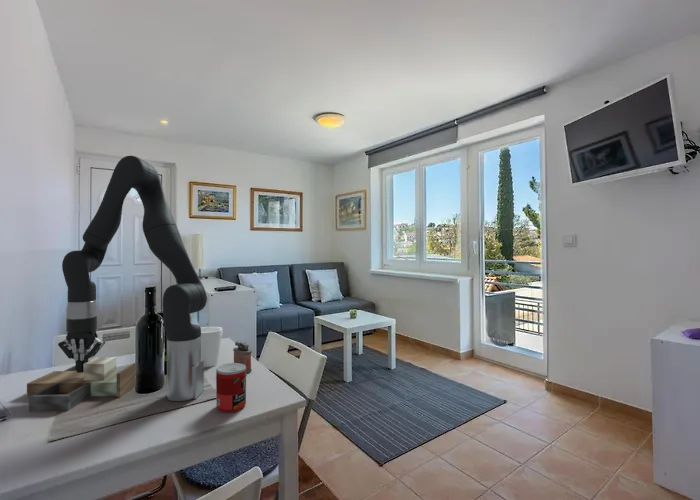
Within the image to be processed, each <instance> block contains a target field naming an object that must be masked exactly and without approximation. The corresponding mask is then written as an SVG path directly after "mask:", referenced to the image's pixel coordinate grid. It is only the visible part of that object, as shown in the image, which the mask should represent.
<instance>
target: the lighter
mask: <svg viewBox="0 0 700 500" xmlns="http://www.w3.org/2000/svg"><path fill="white" fill-rule="evenodd" d="M234 345H235V346H236V347H233V349H232V350H233V363H241V364H244V365H245V366H246V374H250V373H249V372H251V371H253V369H252V353H253V352H252V350H251V349H250V348H249V344H248V343H247V342H246V341H243V342H241V341H236V342H235V343H234ZM251 373H252V372H251Z"/></svg>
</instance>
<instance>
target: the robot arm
mask: <svg viewBox="0 0 700 500" xmlns="http://www.w3.org/2000/svg"><path fill="white" fill-rule="evenodd" d="M162 185H163V184H162V182H161V177H160V175H159V172H158V169H156V168H155V166H153V165H152V164H151V163H149V162H147V161H145V160H143V159H142V158H139V157H138V156H135V155H126V156H123V157H121V159H120V160H119V161H118V162H117V163H116V166H115V168H114V169H113V172H112V174H111V177H110V179H109V182H108V185H107V187H106V190H105V193H104V195H103V198H102V200H101V203H100V205H99V207H98V209H97V211H96V213H95V214H94V217H93V218H92V219H91V222H89V225H88V226H87V228H86V229H85V231H84V233H83V234H82V241H83V242H84V244H83V247H82V248H81V249H80V250H71V251H69V252H68V253H66V254H65V256H63V260H62V265H61V268H62V269H61V270H62V273H63V278H64V280H65V283H66V284H65V285H66V286H67V302H66V303H67V304H66V315H65V316H66V319H65V321H66V325H65V326H66V328H65V331H66V333H67V334H66V337H65V339H63V340H62V341H61V342H58V343H57V346H58V347H59V348H60V349H61V351H62V352H63V353H64V354H65V355H66V357H67V358H68V359H69V360H70V359H73V360H74V363H75V365H74V366H75V369H76V371H77V373H83V372H84V367H83V364H84V363H86V362H88V361H89V359H91V358H93V357H95V356H96V355H97V354H98V352H99V351H100V350H101V348H103V346H104V345H105V344H106V341H105V340H104V339H103V340H101V339H100V338H98V337H99V336H98V334H97V329H98V305H97V304H98V303H97V285H96V283H95V282H94V281H91V277H90V273H93V272H95V271H96V270H97V269H99V267H100V266H101V265H102V263H103V261H104V259H105V256H106V254H107V249H108V247H109V245H110V243H111V241H112V239H113V238H114V237H115V235H116V233H117V232H118V229H119V228H120V225H121V221H122V215H123V214H122V211H123V205H124V202H125V199H126V197H127V195H128V194H129V193H130V191H131V190H132V189H134V190H135V191H136V192H137V194H138V196H139V198H140V201H141V203H142V206H143V216H142V217H143V218H142V231H143V234H144V238H145V240H146V242H147V246H148V248H149V249H150V251H151V252H152V254H153V255H154V256H155V257H156V258H157V259H158V260H159V261H160V262H161V263H162V264H164V266H166V268H168V269H169V271H170V272H171V273H172V275H173V276H174V279H175V281H176V283H177V284H171V285H169V286H168V287H167V288H166V289H165V290H164V292H163V296H162V316H163V318H162V319H163V328H164V331H165V333H166V399H167V400H169V401H172V402H183V401H189V400H194V399H197V398H199V396H200V395H201V394H202V393H203V392H204V390H205V389H204V388H205V387H204V384H205V382H204V381H205V379H204V378H205V377H204V374H205V373H204V371H205V369H204V368H205V367H204V360H201V328H202V327H201V326H200V325H197V324H193V323H192V322H191V317H190V316H191V315H190V314H195V313H197V312H201V311H202V310H203V309H204V308H205V307H206V305H207V301H208V299H207V298H208V297H207V293H206V289H205V287H204V284H203V282H202V280H201V279H200V277H199V275H198V274H197V273H198V272H197V271H196V270H195V267H194V266H193V263H192V262H191V259H190V256H189V254H188V252H187V249H186V247H185V245H184V243H183V240H182V235H181V234H180V231H179V229H178V226H177V224H176V222H175V219H174V216H173V214H172V212H171V208H170V206H169V205H168V201H167V199H166V195H165V193H164V190H163V189H164V188H163V186H162ZM92 346H93V347H92Z"/></svg>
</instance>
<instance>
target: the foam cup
mask: <svg viewBox="0 0 700 500" xmlns="http://www.w3.org/2000/svg"><path fill="white" fill-rule="evenodd" d="M200 328H201V360H204V368H210V367H215V366H217V365H218V364H219V362H220V361H219V359H220V353H221V345H222V336H223V327H221V326H205V327H200Z"/></svg>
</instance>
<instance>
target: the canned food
mask: <svg viewBox="0 0 700 500" xmlns="http://www.w3.org/2000/svg"><path fill="white" fill-rule="evenodd" d="M215 373H216V374H215V377H216V378H215V380H216V381H215V383H216V386H215V388H216V389H215V390H216V392H215V394H216V397H215V399H216V403H215V404H216V409H217V410H218V411H219V412H222V413H230V414H231V413H235V412H239V411H242V410H243V408H245V406H246V402H247V373H246V366H245V365H244V364H241V363H234V362H229V363H224V364H222V365H219V366H217V367H216V372H215Z"/></svg>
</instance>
